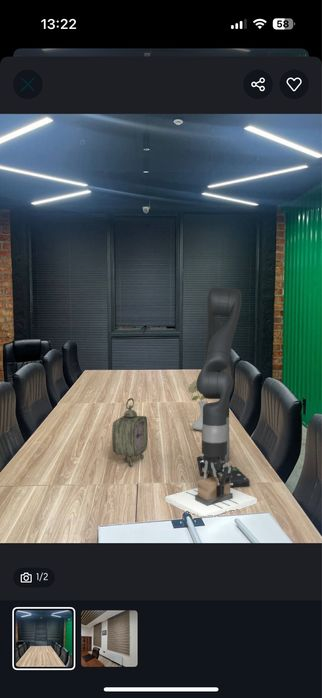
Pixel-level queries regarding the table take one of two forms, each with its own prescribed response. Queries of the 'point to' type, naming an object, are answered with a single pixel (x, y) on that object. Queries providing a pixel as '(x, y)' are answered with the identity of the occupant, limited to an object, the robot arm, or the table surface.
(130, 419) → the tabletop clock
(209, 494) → the sanding block
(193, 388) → the flower in vase
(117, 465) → the table surface
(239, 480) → the disk drive
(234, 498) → the board
